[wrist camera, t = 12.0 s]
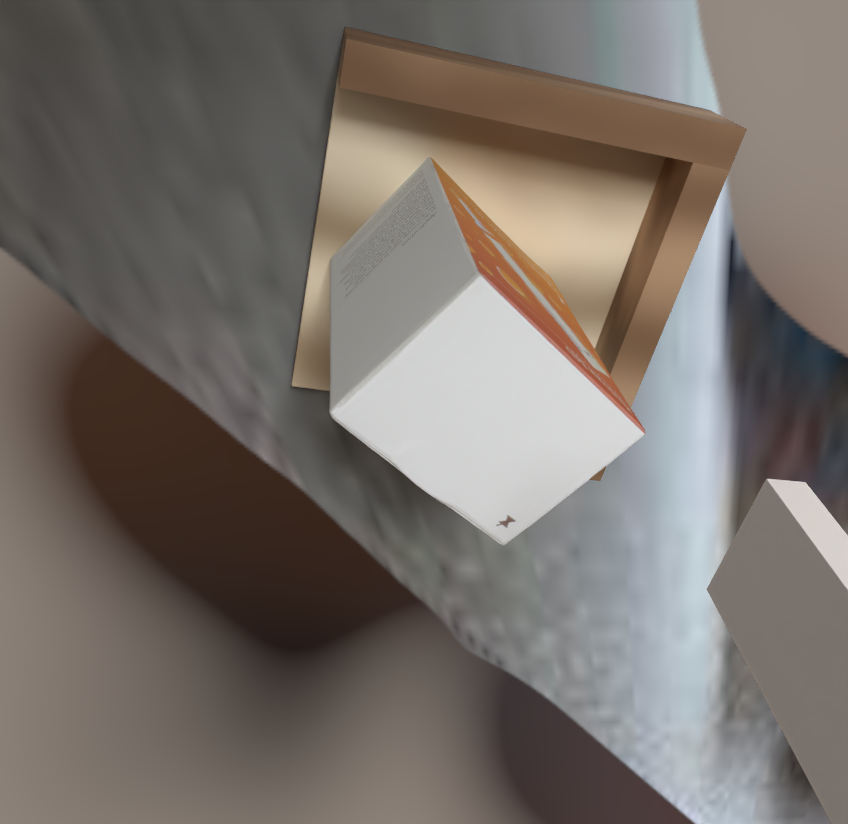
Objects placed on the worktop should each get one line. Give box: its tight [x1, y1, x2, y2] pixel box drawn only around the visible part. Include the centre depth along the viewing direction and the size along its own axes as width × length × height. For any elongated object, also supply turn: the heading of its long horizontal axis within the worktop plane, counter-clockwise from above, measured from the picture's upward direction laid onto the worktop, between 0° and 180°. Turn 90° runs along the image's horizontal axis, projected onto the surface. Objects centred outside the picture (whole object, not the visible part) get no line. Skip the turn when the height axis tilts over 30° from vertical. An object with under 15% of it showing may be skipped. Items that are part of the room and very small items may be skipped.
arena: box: [292, 27, 747, 481], centre depth 34 cm, size 17×16×4 cm
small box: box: [329, 157, 645, 545], centre depth 29 cm, size 8×6×13 cm
